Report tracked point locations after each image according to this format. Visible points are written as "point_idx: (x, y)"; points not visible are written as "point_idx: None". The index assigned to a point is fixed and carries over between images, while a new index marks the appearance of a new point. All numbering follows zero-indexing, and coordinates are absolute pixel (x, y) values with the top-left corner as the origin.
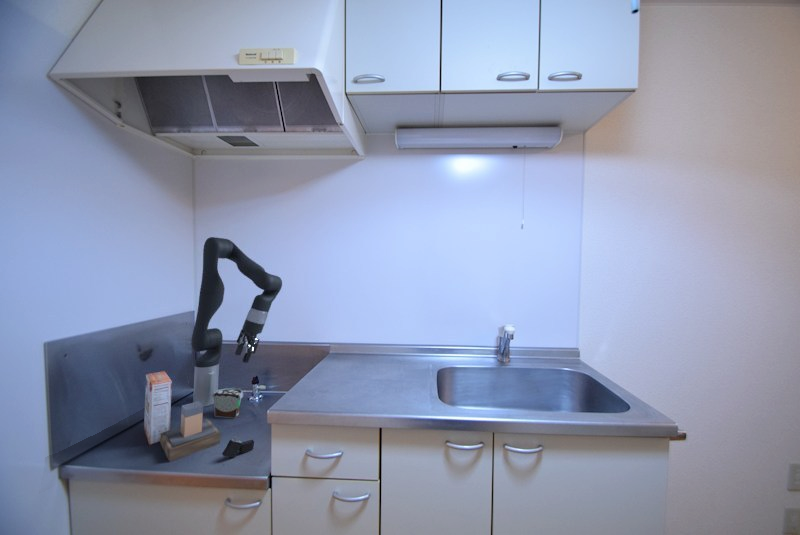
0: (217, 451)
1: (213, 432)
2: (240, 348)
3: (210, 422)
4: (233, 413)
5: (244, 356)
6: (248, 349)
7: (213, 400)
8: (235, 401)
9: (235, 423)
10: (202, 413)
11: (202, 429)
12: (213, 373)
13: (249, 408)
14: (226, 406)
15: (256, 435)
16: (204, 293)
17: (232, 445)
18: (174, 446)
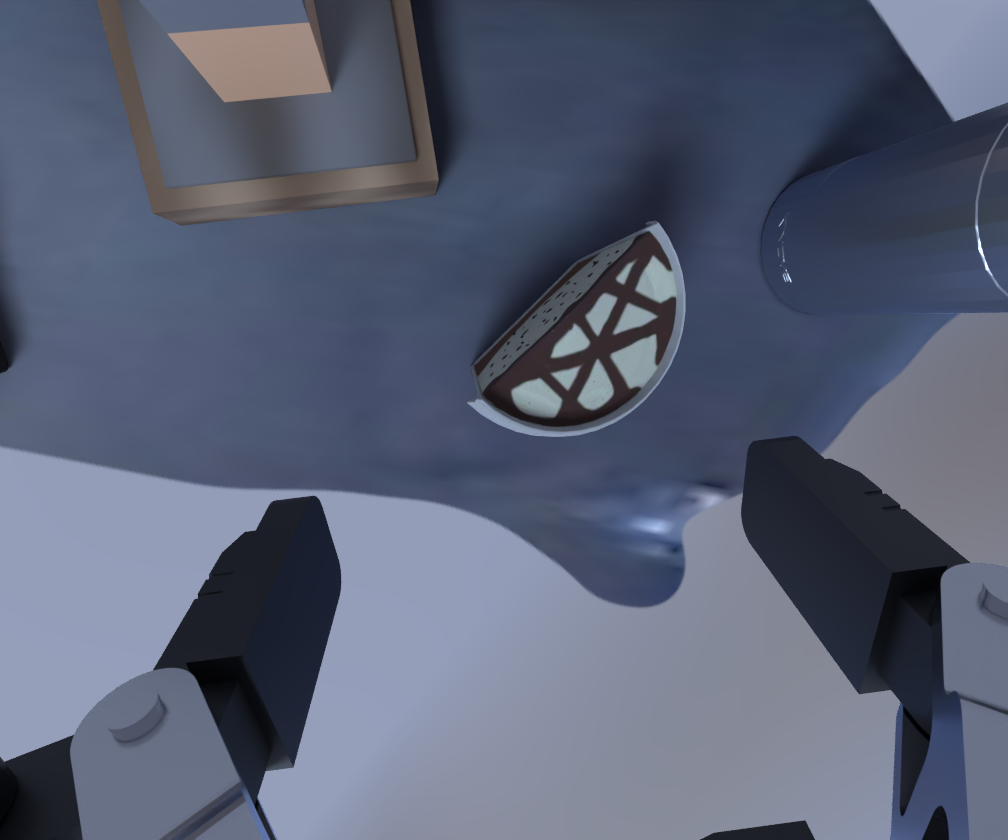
0: (80, 195)
1: (160, 168)
2: (836, 591)
3: (364, 185)
4: (490, 356)
5: (237, 580)
6: (97, 833)
7: (784, 281)
8: (494, 370)
9: (400, 352)
10: (170, 35)
11: (257, 112)
12: (971, 248)
13: (565, 463)
14: (537, 317)
15: (157, 428)
16: None
17: None
18: None
